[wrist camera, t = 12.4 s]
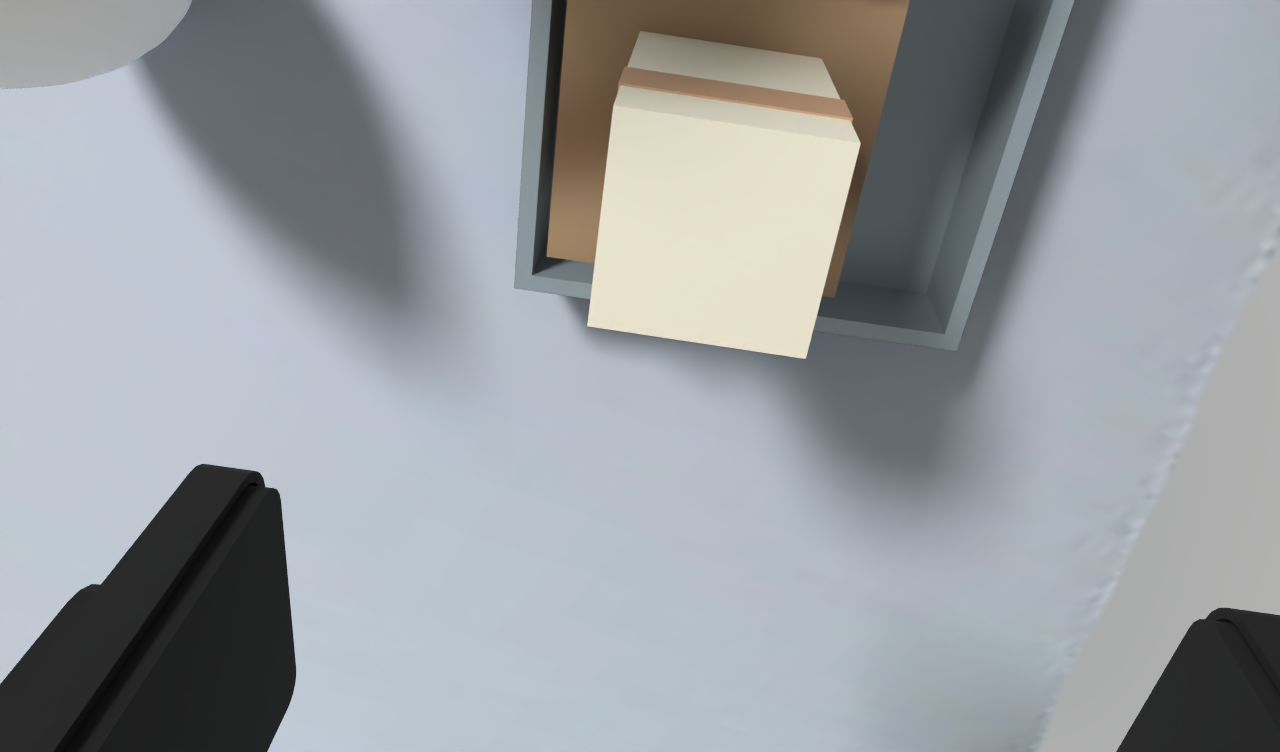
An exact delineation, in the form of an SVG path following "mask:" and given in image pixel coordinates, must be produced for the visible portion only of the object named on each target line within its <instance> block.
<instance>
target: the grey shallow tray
mask: <svg viewBox="0 0 1280 752" xmlns="http://www.w3.org/2000/svg"><path fill="white" fill-rule="evenodd" d="M1073 3H1074V0H910V2H909V6H908V10H907V14H906V18H905V22H904V26H903V30H902V34H901V38H900V42H899V45H898V49H897V53H896V57H895V61H894V65H893V69H892V73H891V77H890V81H889V85H888V89H887V93H886V97H885V101H884V105H883V109H882V113H881V117H880V121H879V124H878V128H877V132H876V136H875V140H874V144H873V148H872V152H871V156H870V160H869V164H868V168H867V172H866V176H865V180H864V184H863V188H862V192H861V196H860V199H859V203H858V207H857V211H856V215H855V219H854V223H853V227H852V231H851V235H850V239H849V243H848V247H847V251H846V255H845V259H844V263H843V267H842V271H841V275H840V278H839V282H838V286H837V290H836V294H835V298H833V297H826V296H822V297H821V301H820V305H819V309H818V313H817V317H816V321H815V325H814V329H813V331H817V332H824V333H831V334H838V335H845V336H852V337H859V338H866V339H873V340H880V341H887V342H894V343H901V344H908V345H915V346H922V347H929V348H936V349H943V350H950V351H957V348H958V345H959V342H960V339H961V336H962V333H963V330H964V328H965V325H966V322H967V319H968V316H969V313H970V310H971V307H972V304H973V301H974V298H975V295H976V292H977V289H978V286H979V283H980V280H981V277H982V274H983V271H984V268H985V265H986V262H987V259H988V256H989V253H990V250H991V247H992V244H993V241H994V238H995V235H996V232H997V229H998V226H999V223H1000V220H1001V217H1002V214H1003V211H1004V208H1005V205H1006V202H1007V200H1008V197H1009V194H1010V191H1011V188H1012V185H1013V182H1014V179H1015V176H1016V173H1017V170H1018V167H1019V164H1020V161H1021V158H1022V155H1023V152H1024V149H1025V146H1026V143H1027V140H1028V137H1029V134H1030V131H1031V128H1032V125H1033V122H1034V119H1035V116H1036V113H1037V110H1038V107H1039V104H1040V101H1041V98H1042V95H1043V92H1044V89H1045V86H1046V83H1047V80H1048V77H1049V74H1050V72H1051V69H1052V66H1053V63H1054V60H1055V57H1056V54H1057V51H1058V48H1059V45H1060V42H1061V39H1062V36H1063V33H1064V30H1065V27H1066V24H1067V21H1068V18H1069V15H1070V12H1071V9H1072V6H1073ZM566 10H567V0H532V13H531V29H530V45H529V61H528V76H527V92H526V108H525V124H524V139H523V155H522V171H521V187H520V203H519V218H518V234H517V250H516V266H515V281H514V288H515V289H522V290H529V291H536V292H543V293H550V294H557V295H564V296H571V297H578V298H585V299H591V290H592V282H593V273H594V265H595V263H588V262H581V261H574V260H567V259H560V258H553V257H547V245H548V232H549V220H550V208H551V195H552V183H553V171H554V158H555V146H556V134H557V121H558V109H559V97H560V84H561V72H562V60H563V47H564V35H565V23H566Z"/></svg>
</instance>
